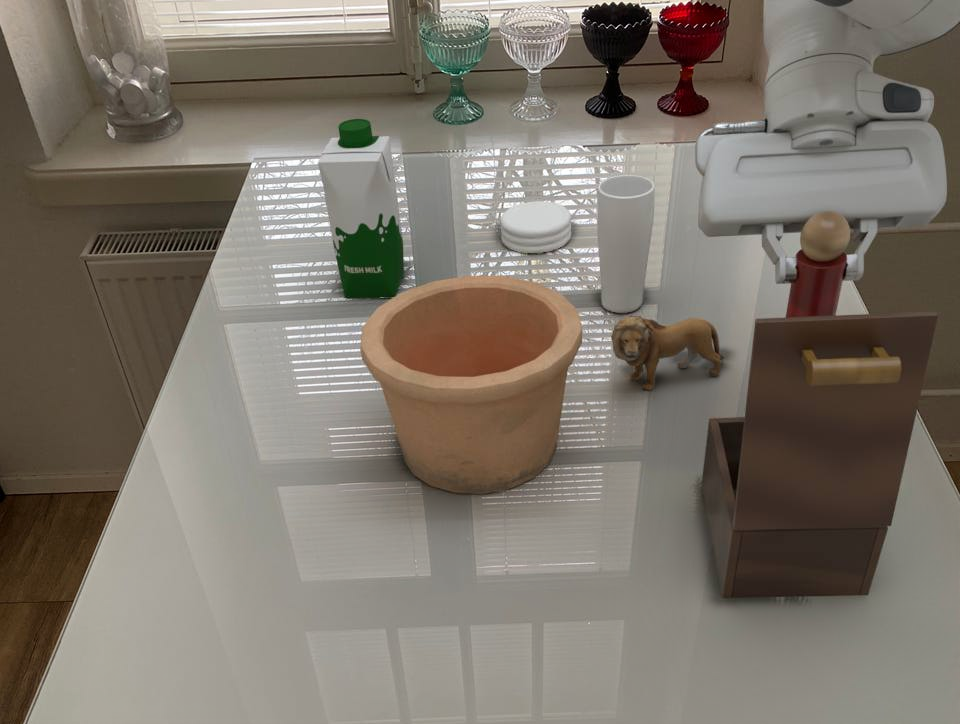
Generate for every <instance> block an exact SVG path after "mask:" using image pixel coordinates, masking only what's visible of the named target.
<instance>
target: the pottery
mask: <svg viewBox="0 0 960 724" xmlns="http://www.w3.org/2000/svg"><path fill="white" fill-rule="evenodd" d="M360 338H361V339H360V348H359V350H360V355H361V360H362V361H363V363H364V365H365V367H366V369H368V371H369V373H370V375H371V377H372V378H373V379H374V380H375V381H376V382H378V383H379V384H380V386H381V390H382V393H383V396H384V399H385V402H386V405H387V409H388V411H389V415H390V418H391V420H392V425H393V427H394V430H395V434H396V437H397V439H398V440H397V441H398V443H399V445H400V449H401V452H402V455H403V460H404V462H405V464H406V465H407V467H408V469H409V470H410V472H411V473H412V475H413V476H415V477H417V478H418V479H420V480H421V481H423V482H424V483H426V484H427V485H429V486H430V487H433V488H437V489H440V490H444V491H447V492H450V493H451V492H452V493H455V494H472V495H473V494H474V495H475V494H476V495H486V494H489V493H495V492H501V491H505V490H511V489H512V488H515V487H517V486H519V485H521V484H523V483H526V482H529V481H531V480H533V479H535V477H536V476H538V475H539V474H540V473H541V472H542V471H543V470H544V469H546V468H547V467H548V466H549V465H550V464H551V462H552V460H553V457H554V455H555V453H556V451H557V448H558V439H559V431H560V425H561V419H562V418H561V417H562V412H563V404H564V397H565V391H566V385H567V377H568V371H569V367H571V366H572V364H573V362H574V360H575V358H576V356H577V354H578V352H579V350H580V348H581V346H582V343H583V328H582V322H581V318H580V314H579V309H577V308H576V307H575V306H574V305H573V303H571V302H570V301H569V300H568V299H567V298H566V297H565V296H564V295H563V294H562V293H561V292H558V291H556V290H554V289H552V288H550V287H547V286H545V285H543V284H540V283H538V282H536V281H532V280H526V279H520V278H516V277H510V276H505V275H465V276H459V277H452V278H447V279H440V280H435V281H430V282H428V283H427V282H426V283H425V284H422V285H418V286H416V287H413V288H411V289H408V290H405V291H402V292H400V293H399V294H396V296H395V297H394V298H390V299H389V300H388V301H386V302H384V303H383V304H382V305H380V306H378V307H377V308H376V309H375V310H374V311H373V313H372V314H371V315H370V317H369V318H368V319H367V320H366V322H365V324H364V325H363V326H362V328H361V337H360Z"/></svg>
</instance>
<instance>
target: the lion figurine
mask: <svg viewBox="0 0 960 724" xmlns="http://www.w3.org/2000/svg"><path fill="white" fill-rule="evenodd" d="M610 339H611V342H612V351H613V353H614V355H615V357H616V358H617V359H619V360H622V361H625V362H626V364H628V365H629V366H630V367H634V371H633V372H631V373H630V375H629V379H630V380H631V381H638V380H639V379H640V378H641V377H642V374H643V372H644V367H645V372H646V378H645V382H644V383H643V384H642V389H643V390H644V391H649V392H650V391H652V390H653V389H654V387H655V385H656V371H657V368H658V367H657V366H658V365H659V362H660V359H668V358H671V357H675V356H677V355H679V354H681V353H682V352H684V351H685V350H686V351H687V356H686V358H685V359H684V360H679V361H678V362H677V367H678V368H680V369H687V368H688V367H689V366H690V365H691V364H692V362H693V361H694V360H695V359H696V358H697V357H698V356H699V357H700V358H701V359H703V360H705V361H707V362H709V363H711V364H712V365H713V367H711V368H709V369H708V372H707V374H708V376H710V377H717V376H719V375H720V373H721V361H722V362H723V360H725V356H724V355H723V354H721V353H720V340H719V335H718V331H717V329H716V328H715V326H714V325H713V323H711V322H710V321H708V320H706V319H702V318H697V317H690V318H687V319H684V320H681V321H679V322H676V323H671V324H667V325H661V324H660V323H658V321H656V320H654V319H650V318H645V317H642V316H641V315H638V316H637V315H629V316H625V317H622V318H620V319H619V320H618V321H617V323H615V324H614V326H613V329H612V332H611V336H610Z"/></svg>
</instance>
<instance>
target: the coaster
mask: <svg viewBox="0 0 960 724" xmlns="http://www.w3.org/2000/svg"><path fill="white" fill-rule="evenodd" d="M571 221H572V214H571V212H570V210H569V209H568V208H567V207H565V206H564V205H562V204H560V203H556V202H553V201H545V200H544V201H543V200H536V201H535V200H534V201H527V202H522V203H518V204H515V205H513V206H511V207H509V208H508V209H506V210H505V211H504V212H503V213H502V214H501V216H500V226H501V227H500V233H501V235H500V236H501V237H500V238H501V239H500V240H501V242H502V243H503V245H504V246H505V247H506V248H508V249H509V250H511V251H513V250H514V251H513V252H516V251H517V252H516V253H520V252H522V253H521V254H527V253H538V254H544V253H543V252H546V253H550V252H554V251H556V250H558V248H559V249H560V247H561V248H562V247H564V246H565V245H566V244H568V242H569V241H570V240H571V237H572V222H571ZM555 249H556V250H555ZM553 250H554V251H553ZM549 251H550V252H549Z"/></svg>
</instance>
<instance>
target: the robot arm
mask: <svg viewBox="0 0 960 724" xmlns="http://www.w3.org/2000/svg"><path fill="white" fill-rule="evenodd" d="M762 12H763V15H762V16H763V20H762V21H763V27H762V29H763V30H762V31H763V35H762V36H763V45H764V48H765V52H766V55H767V57H768V58H767V60H768V62H767V63H768V67H767V73H766V77H765V79H764V83H763V84H764V86H763V100H764V101H763V103H764V104H763V105H764V107H763V109H764V111H763V112H764V116H763V117H764V119H752V120H744V121H738V122H728V121H721V122H716V123H713V124H712V127H710V128H707V129H705V130H704V131H703V132H701V133H700V134H699V136H698V137H697V139H696V141H695V144H694V163H695V167H696V169H697V171H698V172H699V174H700V175H702V178H701V185H700V192H699V199H698V200H699V201H698V211H697V212H698V213H697V226H698V228H699V230H700V231H701V232H702V233H703V234H704V235H705V236H706V237H708V238H717V237H719V238H720V237H736V236H739V237H740V236H757V235H758V236H759V235H761V247H762V249H763V251H764V252H765V253H766V255H767V257H768V258H769V260H770V261H771V263H772V265H774V272H775V273H774V276H775V278H774V279H775V280H774V281H775V284H776V285H780V284H783V285H786V284H791V283H794V281H795V280H796V278H797V269H796V268H795V267H796V265H797V257H796V256H788V255H787V253H786V251H785V250H784V248H783V247H782V246H783V245H781V243H780V242H781V240H782V238H783V236H784V234H798V233H799V234H801V231H802V228H803V226H804V225H805V223H806V222H807V221H808V220H809V219H810V218H811V217H812V216H813V215H815V214H817V213H819V212H822V211H834V212H837V213H839V214H841V215H842V216H843V217H844V218H845V219H846V220H847V222H848V224H849V226H850V231H852V233H853V234H852V235H853V242H859V244H858V246H857V247H856V248H855V251H854V253H853V254H852V253H851V254H850V253H849V254H846V256H847V262H846V267H845V272H844V277H843V281H842V282H844V281H847V282H851V281H855V282H856V281H860V280H861V279H862V278H863V276H864V271H865V254H866V253H867V251H868V249H869V247H870V246H871V244H872V242H873V240H874V239H875V237H876V235H877V234H878V230H882V229H899V228H900V229H901V228H903V229H904V228H921V227H925V226H926V225H928V224H929V223H931V221H932V220H934V218H936V217H937V215H938V214H939V213H940V212H941V211H942V209H943V207H945V205H946V202H947V197H948V182H947V181H948V180H947V167H946V159H945V158H946V157H945V151H944V145H943V141H942V137H941V134H940V133H939V131H938V129H937V128H936V127H935V126H934V125H933V124H931V123H929V122H928V121H929V119H930V118H931V116H932V113H933V110H934V107H935V96H934V93H933V92H932V90H930V89H928V88H926V87H922V86H918V85H914V84H911V83H906V82H903V81H899V80H897V79H893V78H890V77H886V76H883V75H880V74H879V73H875V72H874V63H875V60H876V59H877V58H878V57H879V56H880V57H883V56H884V57H886V56H892V55H894V54H899V53H903V52H906V51H909V50H911V49H915V48H918V47H920V46H924V45H926V44H929V43H931V42H934V41H936V40H938V39H940V38H942V37H944V36H946V35H947V34H949V33H950V32H952V31H953V30H954V29H956V28H957V27H959V25H960V0H763V11H762Z"/></svg>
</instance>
